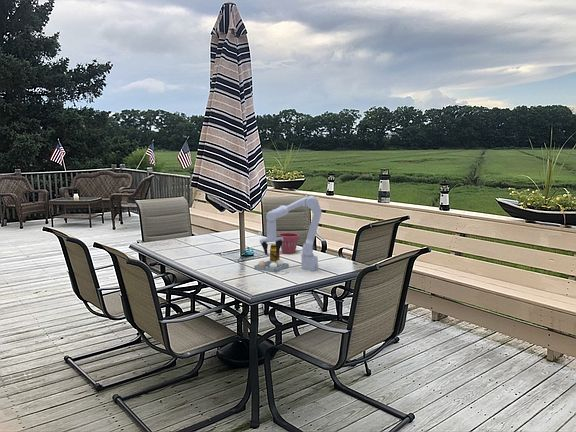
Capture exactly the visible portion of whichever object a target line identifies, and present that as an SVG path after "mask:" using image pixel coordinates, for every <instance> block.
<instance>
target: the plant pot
mask: <svg viewBox="0 0 576 432" xmlns="http://www.w3.org/2000/svg"><path fill="white" fill-rule="evenodd" d="M299 235H300V234H298V233H296V232H295V233H294V232H282V233H279V234H278V236H277V238H278V237H282V238H283V241H282V245H281V247H280V249H281V253H282V254H284V255H292V254H295V253H296V251H297V245H298V241H299V240H300V236H299Z"/></svg>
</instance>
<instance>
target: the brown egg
mask: <svg viewBox="0 0 576 432" xmlns="http://www.w3.org/2000/svg"><path fill="white" fill-rule="evenodd" d="M265 262H266V261H265V260H264V261H263V260H261V261H259V263H258V264H257V265H258V266H261V267H266V263H265Z"/></svg>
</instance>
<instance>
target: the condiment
mask: <svg viewBox="0 0 576 432" xmlns="http://www.w3.org/2000/svg"><path fill="white" fill-rule="evenodd" d="M280 258H281V257H280V250H279V253H276V243H273V244H270V249H269V261H274V262H276V261H278V260H281V259H280Z"/></svg>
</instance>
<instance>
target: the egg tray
mask: <svg viewBox="0 0 576 432" xmlns="http://www.w3.org/2000/svg"><path fill="white" fill-rule="evenodd" d="M264 262H265V263H266V267H261V266H258V264H256V265H254V266H253V267H254V270H256V271H257V270H258V271H264V272H269V273H276V272H277V273H279V271H280V272H281V271H283V270H285V269H287V268H289V266H290V265H289V263H287V262H286V263H285V262H283V265H282V266H278V265H277V268H275V269H274V268H270V267H269V265H270V264H271V263H272V262H274V261H270V260H267V261H264ZM274 263H276V262H274Z"/></svg>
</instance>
